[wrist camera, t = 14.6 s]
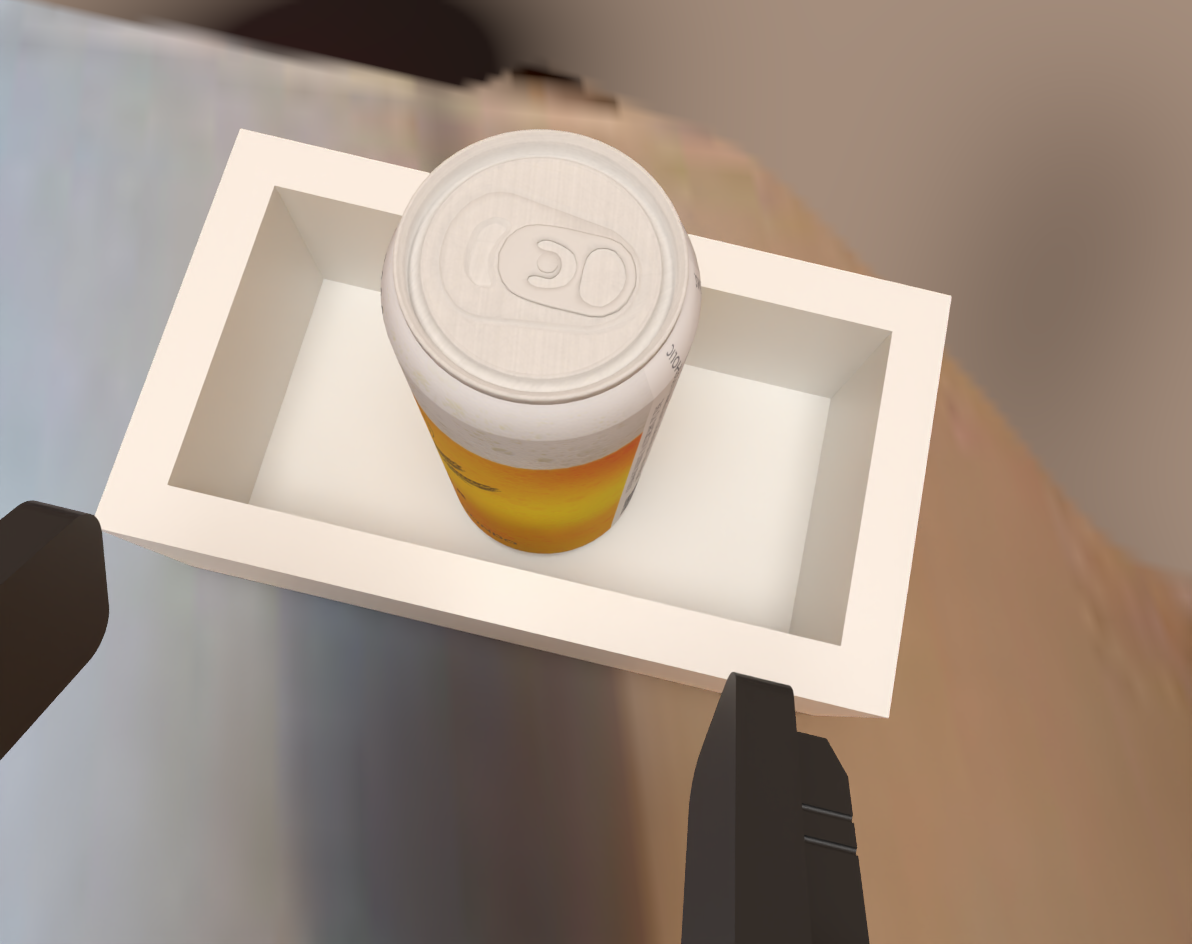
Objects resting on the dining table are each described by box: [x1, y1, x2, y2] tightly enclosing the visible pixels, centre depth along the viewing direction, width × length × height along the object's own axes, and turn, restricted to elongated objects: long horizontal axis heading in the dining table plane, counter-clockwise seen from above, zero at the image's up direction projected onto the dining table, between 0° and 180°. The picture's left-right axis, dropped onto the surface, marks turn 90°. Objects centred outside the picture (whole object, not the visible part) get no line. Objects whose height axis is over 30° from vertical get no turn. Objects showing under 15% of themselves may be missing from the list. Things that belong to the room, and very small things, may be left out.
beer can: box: [381, 129, 701, 554], centre depth 24 cm, size 6×6×15 cm
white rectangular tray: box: [95, 129, 951, 718], centre depth 29 cm, size 21×12×7 cm, turn 77°
